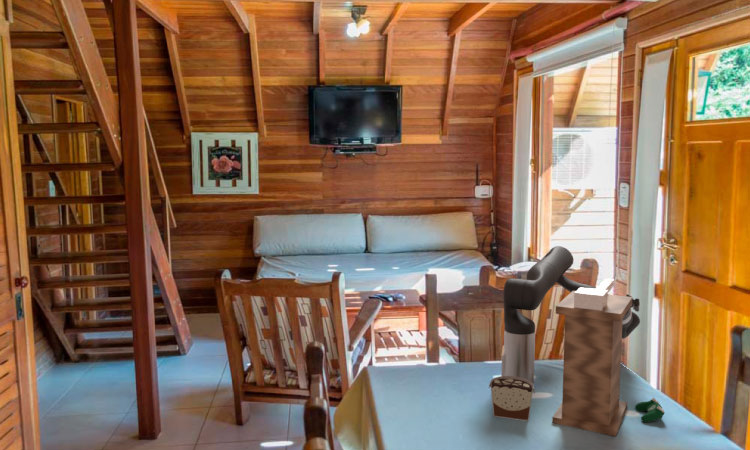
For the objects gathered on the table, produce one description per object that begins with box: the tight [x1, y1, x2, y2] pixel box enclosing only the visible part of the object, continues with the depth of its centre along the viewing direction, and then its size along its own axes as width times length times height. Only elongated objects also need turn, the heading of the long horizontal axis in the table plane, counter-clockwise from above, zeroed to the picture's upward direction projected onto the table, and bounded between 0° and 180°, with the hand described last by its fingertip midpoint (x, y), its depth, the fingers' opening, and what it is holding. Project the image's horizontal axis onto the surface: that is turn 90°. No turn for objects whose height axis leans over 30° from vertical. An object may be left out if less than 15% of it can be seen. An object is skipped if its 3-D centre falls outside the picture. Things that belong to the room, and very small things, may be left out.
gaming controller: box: [634, 397, 665, 423], centre depth 166 cm, size 9×4×6 cm
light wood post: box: [574, 278, 615, 311], centre depth 169 cm, size 7×32×4 cm, turn 150°
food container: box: [488, 376, 536, 422], centre depth 168 cm, size 12×6×10 cm, turn 71°
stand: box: [551, 291, 633, 437], centre depth 166 cm, size 16×20×32 cm
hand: (612, 295), depth 189 cm, fingers open, 8 cm apart
